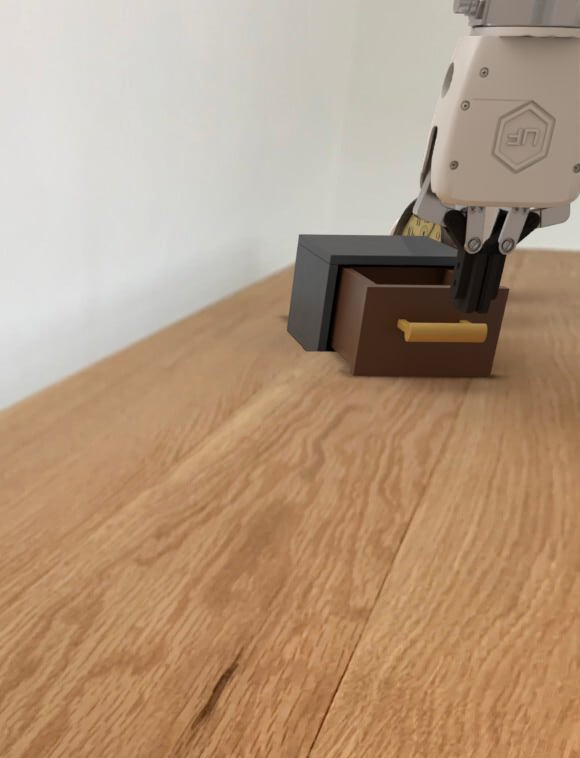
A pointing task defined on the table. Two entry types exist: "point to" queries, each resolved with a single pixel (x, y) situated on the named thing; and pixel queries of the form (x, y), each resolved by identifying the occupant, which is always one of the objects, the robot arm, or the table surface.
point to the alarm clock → (422, 226)
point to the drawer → (410, 324)
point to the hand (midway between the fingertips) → (469, 309)
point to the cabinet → (330, 251)
